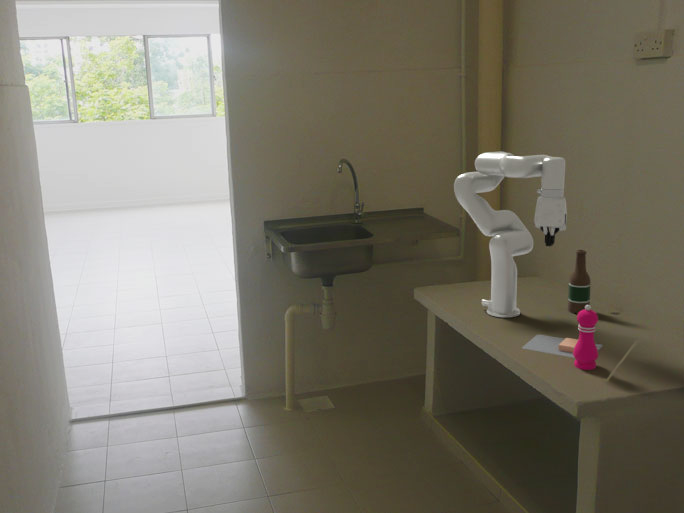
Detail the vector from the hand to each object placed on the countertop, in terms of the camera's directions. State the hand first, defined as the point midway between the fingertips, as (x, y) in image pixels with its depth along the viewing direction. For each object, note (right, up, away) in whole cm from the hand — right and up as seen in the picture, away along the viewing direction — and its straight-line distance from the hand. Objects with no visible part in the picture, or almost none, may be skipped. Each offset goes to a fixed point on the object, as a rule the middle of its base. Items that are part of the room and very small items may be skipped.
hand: (549, 245), depth 241 cm
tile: (0, -33, -14) cm, 35 cm away
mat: (0, -34, -14) cm, 37 cm away
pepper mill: (+2, -38, -30) cm, 49 cm away
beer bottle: (+19, -25, +25) cm, 40 cm away
